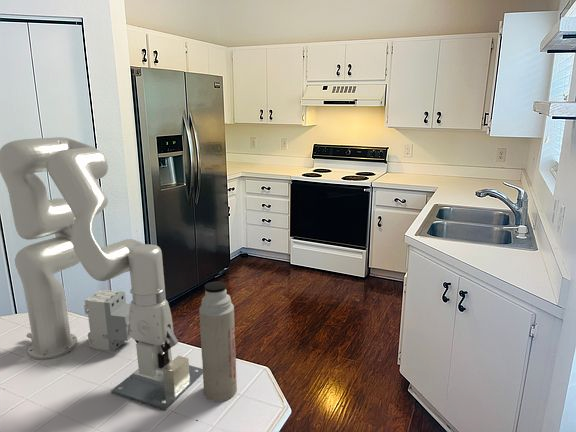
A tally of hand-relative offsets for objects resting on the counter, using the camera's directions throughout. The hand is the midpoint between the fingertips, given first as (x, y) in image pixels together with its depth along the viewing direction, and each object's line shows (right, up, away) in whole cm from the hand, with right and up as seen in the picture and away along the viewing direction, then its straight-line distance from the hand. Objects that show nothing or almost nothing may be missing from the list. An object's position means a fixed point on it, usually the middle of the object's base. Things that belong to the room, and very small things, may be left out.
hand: (155, 362), depth 106 cm
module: (0, -1, 0) cm, 1 cm away
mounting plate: (+1, -5, +1) cm, 5 cm away
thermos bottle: (+17, -6, -2) cm, 18 cm away
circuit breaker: (-17, -1, +19) cm, 25 cm away
